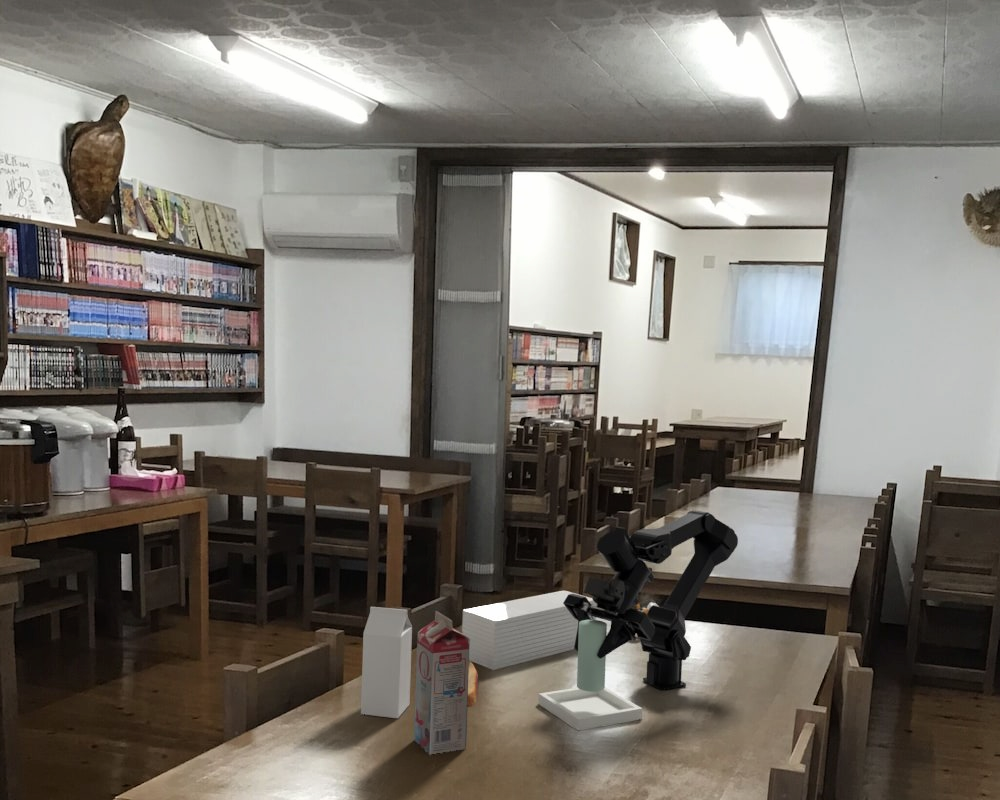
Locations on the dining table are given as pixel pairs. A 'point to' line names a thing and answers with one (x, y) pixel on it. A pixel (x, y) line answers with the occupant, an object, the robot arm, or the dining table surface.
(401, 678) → the milk carton
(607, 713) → the tray
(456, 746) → the juice carton
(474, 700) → the slice of bread
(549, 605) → the stack of papers
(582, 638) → the grey-green post
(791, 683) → the dining table surface
